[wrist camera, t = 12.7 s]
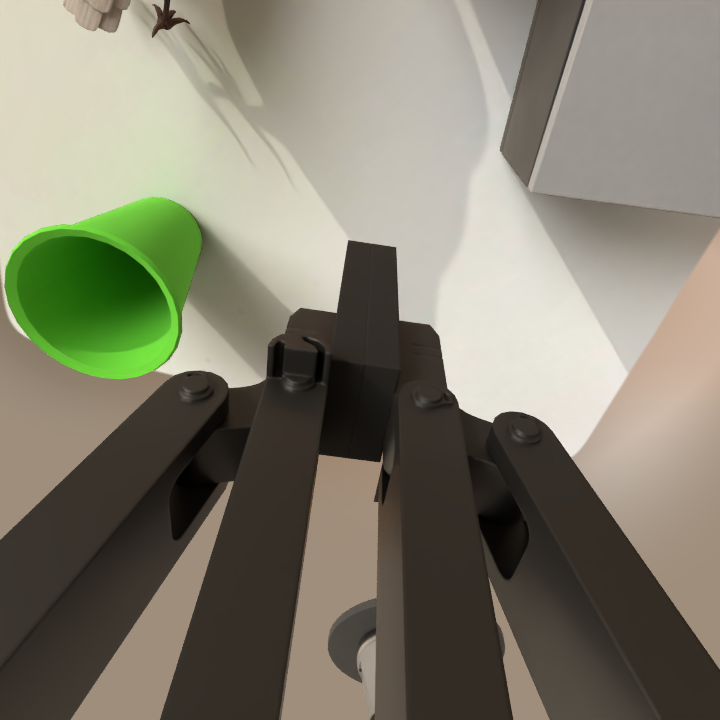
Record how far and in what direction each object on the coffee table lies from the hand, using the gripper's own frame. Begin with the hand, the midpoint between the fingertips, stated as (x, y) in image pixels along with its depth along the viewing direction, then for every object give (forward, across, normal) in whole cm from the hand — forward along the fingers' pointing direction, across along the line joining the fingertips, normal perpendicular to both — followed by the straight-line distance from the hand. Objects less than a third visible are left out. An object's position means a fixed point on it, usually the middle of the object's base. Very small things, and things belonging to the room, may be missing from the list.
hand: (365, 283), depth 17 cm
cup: (+20, -13, -8) cm, 25 cm away
